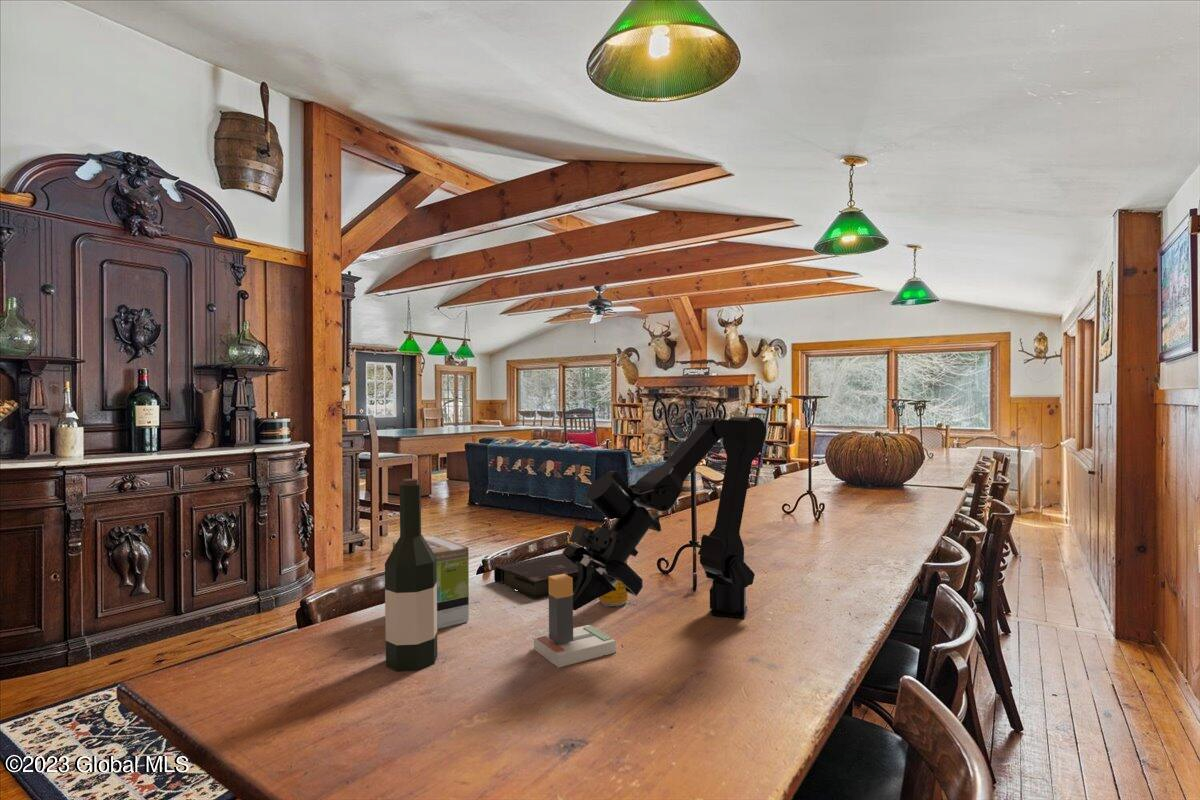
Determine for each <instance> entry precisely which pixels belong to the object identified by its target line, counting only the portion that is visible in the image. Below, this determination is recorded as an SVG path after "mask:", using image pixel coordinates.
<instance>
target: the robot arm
mask: <svg viewBox="0 0 1200 800" xmlns="http://www.w3.org/2000/svg"><path fill="white" fill-rule="evenodd" d="M766 437H767V426H766V425H765V423H764V421H763V420H762V418H760V417H757V416H731V417H729V418H728V419H723V418H721V417H705V418H703V419H701V420H699V422H698V426H697V427H696V428H695V429H694V430H693V431H692V432H691V433H690V435H689V436H688V437H687V438H686V439H685V440H684V441H682V444H680V446H679V447H678V448H677V449H676V450H675V451H674V453H672V455H671V456H669V458H668V459H667V460H666V461H665V462H664V463H663V464H661V465H660V466H658V467H655V468H653V469H651V470H649V471H648V472H647V473H646V474H644V475H643V476H641V477H640V478H639V479H638V480H637V481H636V483H634V484H630V485H628V484H627V483H626V482H625V481H624V480H623V479H622V477H621V475H620V474H619V473H618V472H617V471H613V470H609V471H608V472H607V473H606V475H603V476H601V477H599V478H598V479H597V480H595V481H593V482H591V484H590V485H589V487H588V489H587V491H586V498H587V499H588V501H589V502H591V504H593V506H594V507H596V509H597V510H598V511H599V512H600V513H601V514H602V515H603V516H604V517H605V518H606V519H607V520H615V521H614V522H613V523H612V525H611V526H610V528H607V527H602V526H596V527H594V528H593V529H590V528H588V527H585V526H582V525H579V524H574V525H573V529H572V530H571V531H572V532H571V534H570V536H569V540H568V542H569V544H567V546H566V547H565V548H564V550H563V551H562V552H561V554H562V553H563V554H564V555H565V556H566V557H567V558H568V559H569V560H570V561H571V562H572V563H573V564H574V565H575V566H577V567H578V573H579V576H578V580H577V584H576V587H575V590H574V591H573V611H577V610H579V609H580V608H582V607H585V606H586V605H588V604H589V603H591V602H593V601H595V600H597V599H599V597H601V596H603V595H605V594H607V593H609V592H611V591H616V588H615V587H614V586H615V584H616V583H617V582H618V581H621V582H622V583H623V584H624V585H625V586H626V591H627V592H628V594H630V595H633V596H634V597H637V596H638V595H639V594H640V592H641V591H642V589H643V587H644V586H643V584H644V583H643V579H642V578H641V576H640V575H639V574H638V573H636V571H634V570H633V568H632V567H630V566H629V565H628V563H627V564H625V562H626V561H627V562H628V559H629V558H630V556H632V557H635V558H636V557H637V555H638V553H639V551H638V550H637V549H636V547H638V545H639V544H640V542H641V541H642V539H643V538H644V537H645V535H646V534H647V532H648V531H649V530H652V531H656V532H661V530H662V528H661V527H662V526H661V523H660V515H655V514H651V513H650V512H649V511H648V509H650V510H655V511H659V512H667V511H669V510H670V509H672V508H673V506H674V505H675V504H676V501H677V500H678V498H679V497H680V495H681V494H682V492H683V491H682V490H683V485H684V482H685V481H686V479H687V478H688V476H689V475H690V474H691V473H692V472H693V471H694V469H695V468H697V466H698V465H699V464H700V463H701V461H702V460H703V459H704V458H705V456H707V454H708V453H709V452H710V451H711V450H712V449H713V448H714V447H715V445H716V444H717V443H718V442H719V441H720V440H721V439H722V446H723V449H724V452H725V455H726V463H725V468H724V473H723V478H722V479H723V480H722V485H721V488H720V489H721V490H720V496H719V501H718V507H717V512H716V517H715V521H714V522H715V524H714V527H713V529H712V531H710V532H709V534H708V535H707V534H702V536H701V538H700V539H701V541H700V548H699V550H698V553H697V555H699V564H700V565H701V568H702V569H703V570H704V574H705V577H706V578H707V579H710V580H712V585H711V586H710V588H709V610H711V612H710V615H711V616H717V617H728V618H738V619H745V618H746V614H747V610H748V606H747V588H748V587H749V586H750V585H753V583H754V579H755V572H754V571H753V570H752V569H751V568H750V567H749V565H747V563H746V562H745V560H744V559H745V546H744V544H743V540H742V538H741V534H740V531H741V525H742V520H743V514H744V509H745V503H746V497H747V491H748V485H749V480H750V474H751V468H752V464H753V462H754V461H755V459H756V458H757V457H758V455H759V454H760V453H761V452H762V450H763V447H764V443H765V441H766ZM635 502H636V503H635ZM637 504H638V505H639V506H638V505H637ZM646 508H647V509H646ZM591 554H592V555H591ZM598 565H599V566H598ZM605 568H606V569H605Z"/></svg>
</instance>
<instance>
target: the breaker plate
mask: <svg viewBox="0 0 1200 800" xmlns="http://www.w3.org/2000/svg"><path fill="white" fill-rule="evenodd" d="M616 642H617V641H616V640H615V639H614V638H613V637H611V636H609V635H608V634H607V633H605V632H603V631H602V630H600V629H597V628H596V627H595V626H592V625H590V624H586V625H582V626H577V627H573V640H572V641H568V642H564V643H560V644H557V643H555V642H554V641H552V640H551V639H549V633H547V634H543V635H542V634H541V635H538V636H534V637H533V650H534V651H536V652H537V653H539V654H540V655H541V656H542V657H543V658H545V659H547V660H548V661H549V662H550V663H551V664H553V665H554V666H555V667H557V668H562V667H566V666H570V665H574V664H576V663H577V664H578V663H581V662H585V661H589V660H593V659H597V658H600V657H604V655H605V656H607V655H612V654H616V653H617V650H616V649H617V643H616ZM615 652H616V653H615Z"/></svg>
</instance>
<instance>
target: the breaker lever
mask: <svg viewBox="0 0 1200 800" xmlns="http://www.w3.org/2000/svg"><path fill="white" fill-rule="evenodd" d="M548 578H549V597H548V634H549V639H551V640H552V641H554V642H555V643H557V644H560V643H564V642H568V641H572V640H573V628H574V610H573V593H574V591H573V578H572V577H570V576H568V575H566V574H560V575H554V576H548Z"/></svg>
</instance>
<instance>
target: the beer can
mask: <svg viewBox="0 0 1200 800" xmlns="http://www.w3.org/2000/svg"><path fill="white" fill-rule="evenodd" d="M625 564H627V565H628V560H627V561H626V562H625ZM598 566H599V565H598ZM605 569H606V568H605ZM614 587H615V588H616V591H611V592H609V593H607V594H605V595H603V596H601V597H599V598H598V600H599V602H601V605H603V604H604V605H603V606H605V605H606V606H605V607H611V606H616V607H621V606H624V605H625V604H626V602H627V601H628V599H629V598H628V596H629V595H628V594H629V593H628V592H627V591H626V586H625V585H624V584H623V583H622V582H621V581H618V582H617V583H616V584H615V586H614ZM623 604H624V605H623ZM620 605H621V606H620Z"/></svg>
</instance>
